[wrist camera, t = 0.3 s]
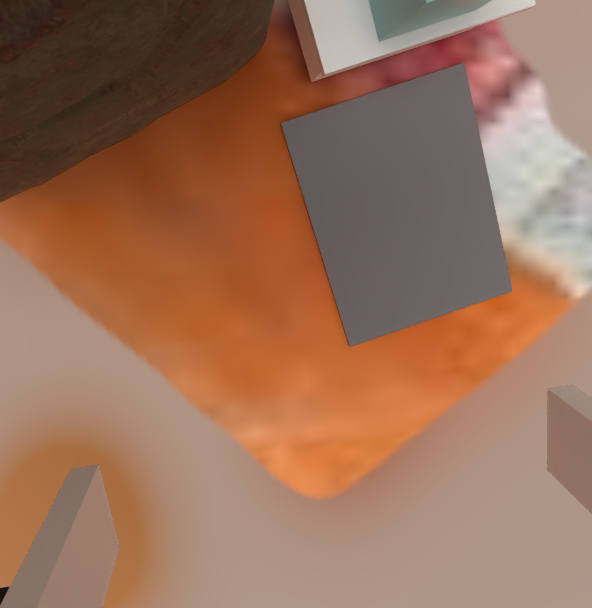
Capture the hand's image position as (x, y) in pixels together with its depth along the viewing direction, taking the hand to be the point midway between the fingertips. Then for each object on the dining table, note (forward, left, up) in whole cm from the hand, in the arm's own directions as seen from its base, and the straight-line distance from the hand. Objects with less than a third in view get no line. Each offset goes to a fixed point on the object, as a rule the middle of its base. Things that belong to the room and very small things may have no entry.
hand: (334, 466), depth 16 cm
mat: (-1, +11, -28) cm, 30 cm away
